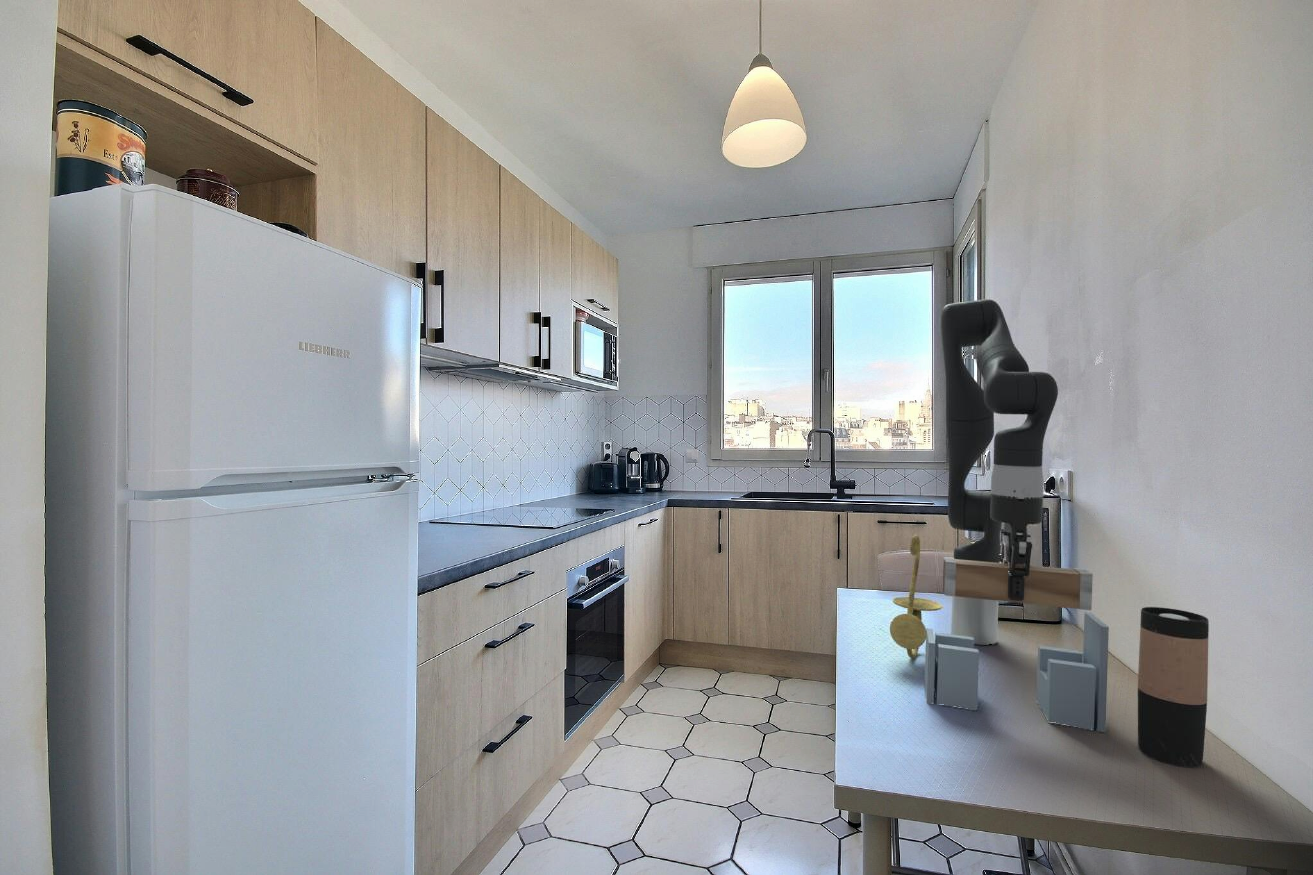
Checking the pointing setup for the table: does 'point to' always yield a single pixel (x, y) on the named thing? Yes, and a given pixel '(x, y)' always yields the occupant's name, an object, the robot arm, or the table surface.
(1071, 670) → the pair of grey brackets
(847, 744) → the table surface
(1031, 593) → the brown wooden bar
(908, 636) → the wall sconce
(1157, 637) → the travel mug
